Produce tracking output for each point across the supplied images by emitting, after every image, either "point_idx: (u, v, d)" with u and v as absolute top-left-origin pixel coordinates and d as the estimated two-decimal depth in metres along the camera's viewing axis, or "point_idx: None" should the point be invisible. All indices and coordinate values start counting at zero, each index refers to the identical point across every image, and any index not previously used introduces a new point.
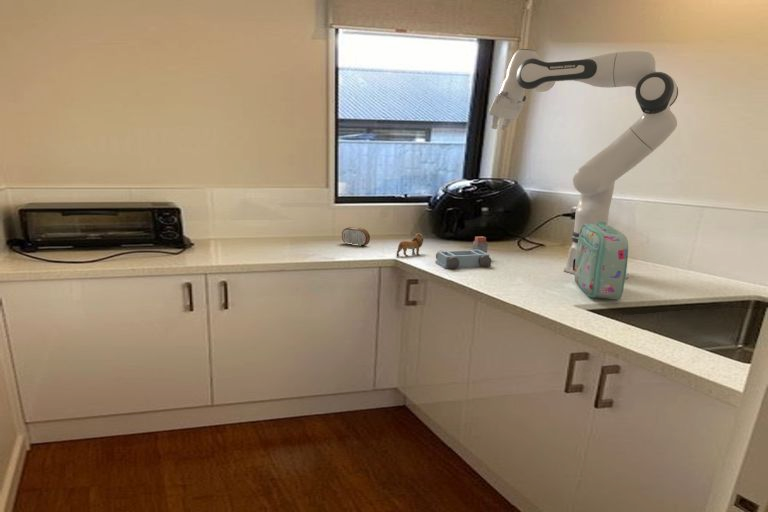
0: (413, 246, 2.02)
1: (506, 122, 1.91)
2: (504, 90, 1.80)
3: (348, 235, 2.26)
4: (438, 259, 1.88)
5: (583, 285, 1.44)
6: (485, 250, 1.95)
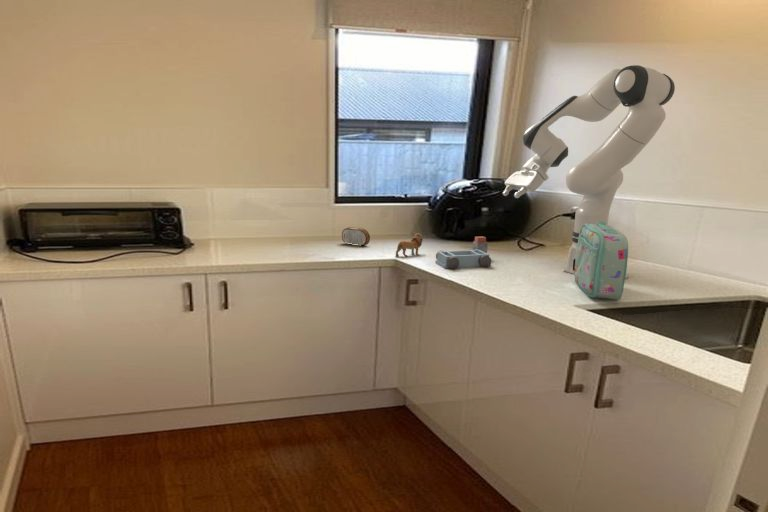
0: (412, 246, 2.02)
1: None
2: None
3: (348, 235, 2.26)
4: (438, 259, 1.88)
5: (583, 285, 1.44)
6: (485, 250, 1.95)
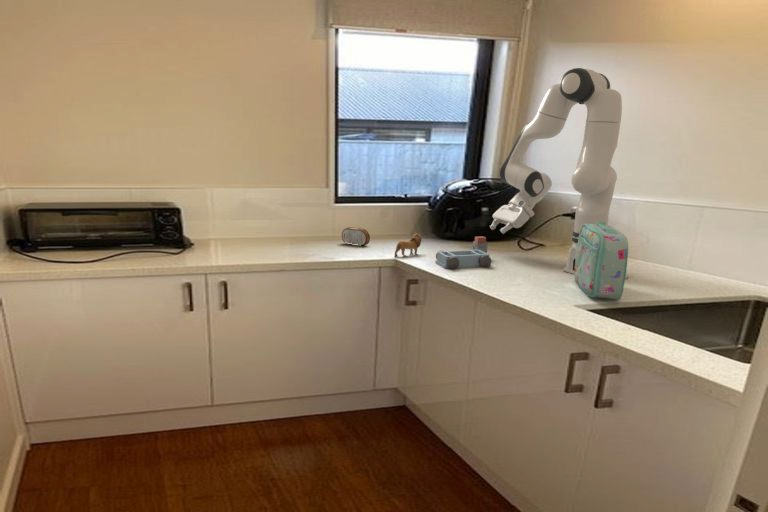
0: (411, 246, 2.01)
1: None
2: None
3: (348, 235, 2.26)
4: (438, 259, 1.88)
5: (583, 285, 1.44)
6: (485, 250, 1.95)
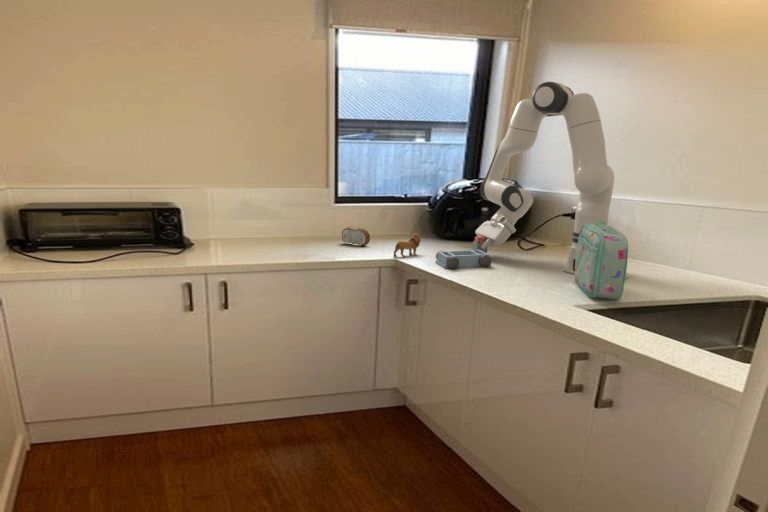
0: (410, 246, 2.01)
1: None
2: None
3: (348, 235, 2.26)
4: (438, 259, 1.88)
5: (583, 285, 1.44)
6: (485, 250, 1.94)
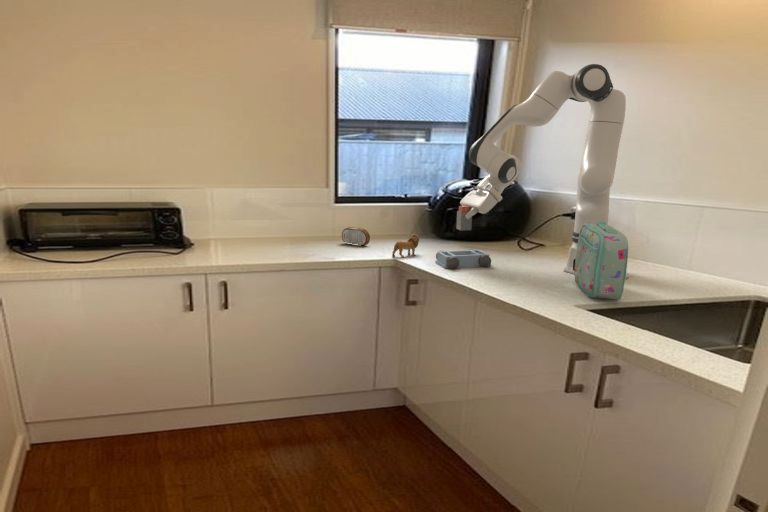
0: (409, 247, 2.01)
1: None
2: None
3: (348, 235, 2.26)
4: (438, 259, 1.88)
5: (583, 285, 1.44)
6: (469, 220, 1.82)
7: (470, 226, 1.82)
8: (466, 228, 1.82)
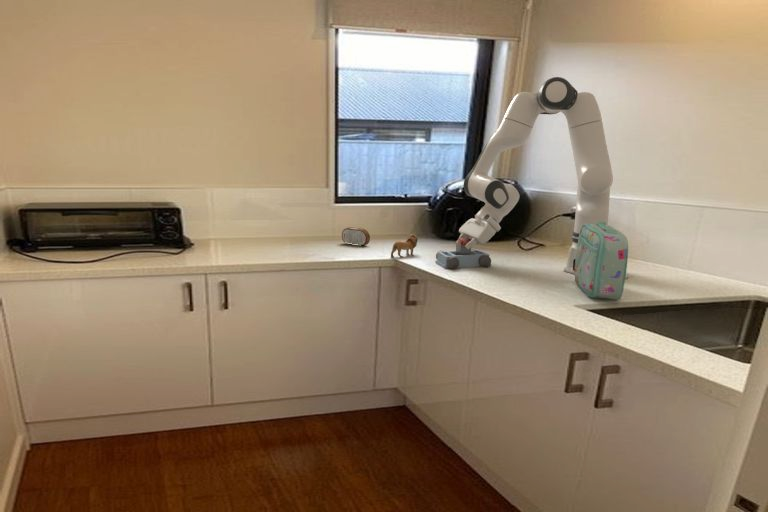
0: (407, 247, 2.00)
1: None
2: None
3: (348, 235, 2.26)
4: (438, 259, 1.88)
5: (583, 285, 1.44)
6: (469, 252, 1.84)
7: None
8: None
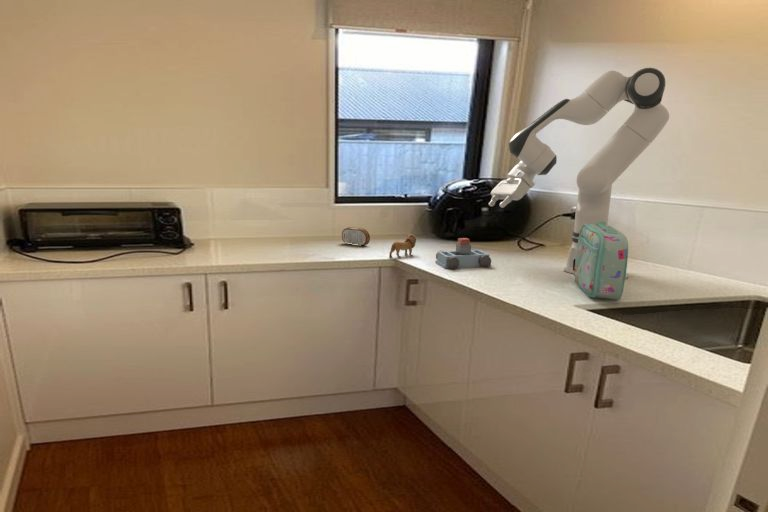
0: (406, 247, 2.00)
1: None
2: None
3: (348, 235, 2.26)
4: (438, 259, 1.88)
5: (583, 285, 1.44)
6: (469, 252, 1.84)
7: None
8: None
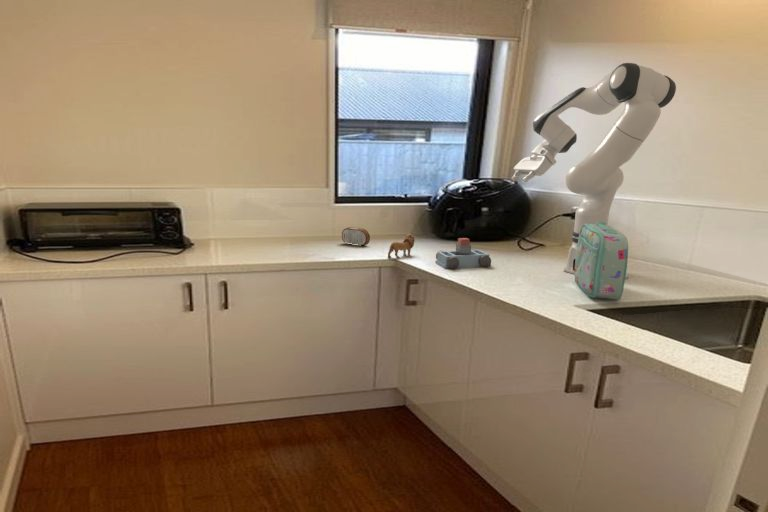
0: (404, 247, 1.99)
1: None
2: None
3: (348, 235, 2.26)
4: (438, 259, 1.88)
5: (583, 285, 1.44)
6: (469, 252, 1.84)
7: None
8: None
